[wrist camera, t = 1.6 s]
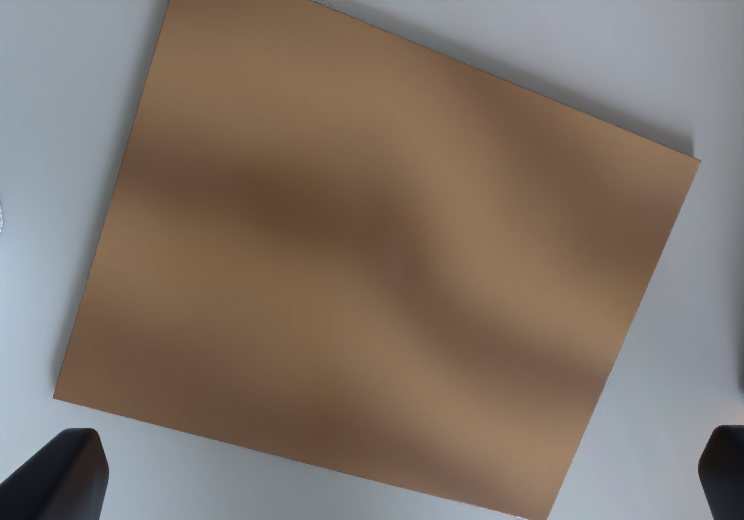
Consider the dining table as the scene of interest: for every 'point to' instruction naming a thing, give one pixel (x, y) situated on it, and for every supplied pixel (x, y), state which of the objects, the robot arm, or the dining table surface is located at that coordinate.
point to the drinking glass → (1, 219)
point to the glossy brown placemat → (367, 256)
